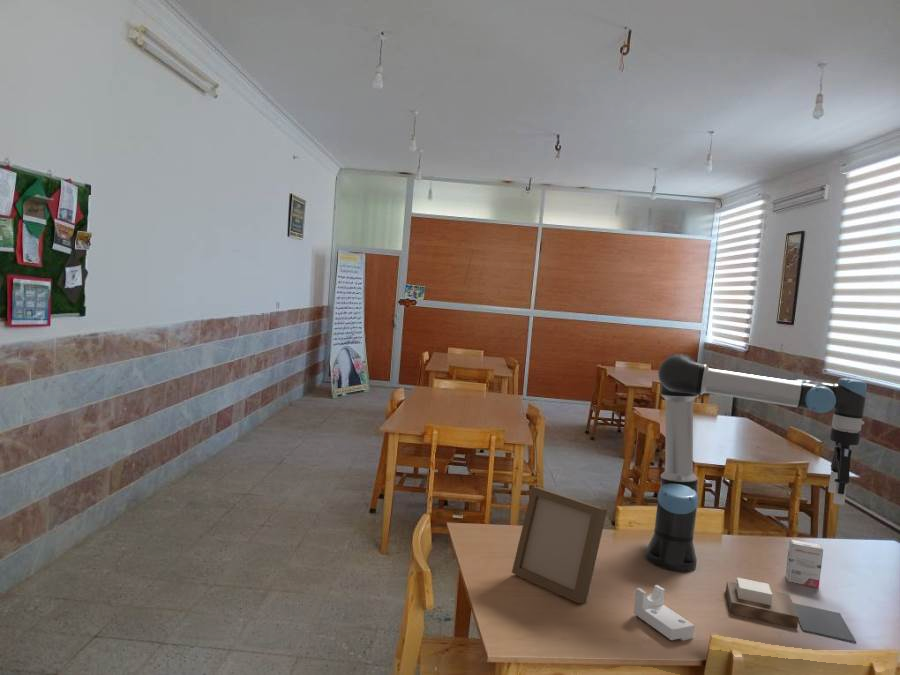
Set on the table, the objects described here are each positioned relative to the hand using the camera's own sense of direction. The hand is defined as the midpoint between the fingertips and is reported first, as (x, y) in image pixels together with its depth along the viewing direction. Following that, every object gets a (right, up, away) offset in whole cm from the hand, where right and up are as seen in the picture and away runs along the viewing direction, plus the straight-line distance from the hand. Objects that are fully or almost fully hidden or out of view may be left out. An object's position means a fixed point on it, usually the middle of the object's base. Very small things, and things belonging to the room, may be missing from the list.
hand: (835, 498), depth 193 cm
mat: (-19, -27, -25) cm, 41 cm away
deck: (-33, -25, -21) cm, 46 cm away
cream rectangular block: (-35, -22, -20) cm, 46 cm away
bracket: (-65, -24, -35) cm, 77 cm away
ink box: (-10, -26, 0) cm, 28 cm away
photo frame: (-87, -20, -16) cm, 91 cm away
